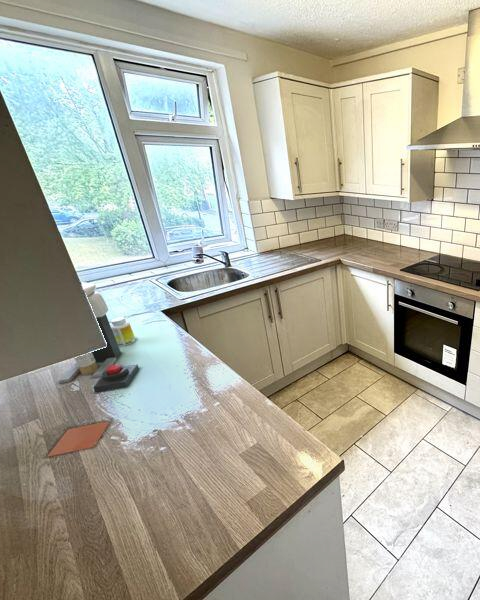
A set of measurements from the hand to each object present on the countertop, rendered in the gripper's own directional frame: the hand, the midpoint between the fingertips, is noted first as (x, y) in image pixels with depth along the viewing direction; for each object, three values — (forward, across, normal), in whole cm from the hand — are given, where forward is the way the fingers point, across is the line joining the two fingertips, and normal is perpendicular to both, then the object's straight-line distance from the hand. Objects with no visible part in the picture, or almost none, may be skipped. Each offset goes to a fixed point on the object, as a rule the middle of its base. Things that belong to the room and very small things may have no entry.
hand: (74, 332), depth 102 cm
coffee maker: (+15, -1, +2) cm, 15 cm away
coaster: (+15, +12, -34) cm, 39 cm away
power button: (+11, +11, -9) cm, 18 cm away
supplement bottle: (+15, +4, +18) cm, 24 cm away
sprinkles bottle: (+15, 0, 0) cm, 15 cm away
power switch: (+15, +10, -9) cm, 20 cm away
